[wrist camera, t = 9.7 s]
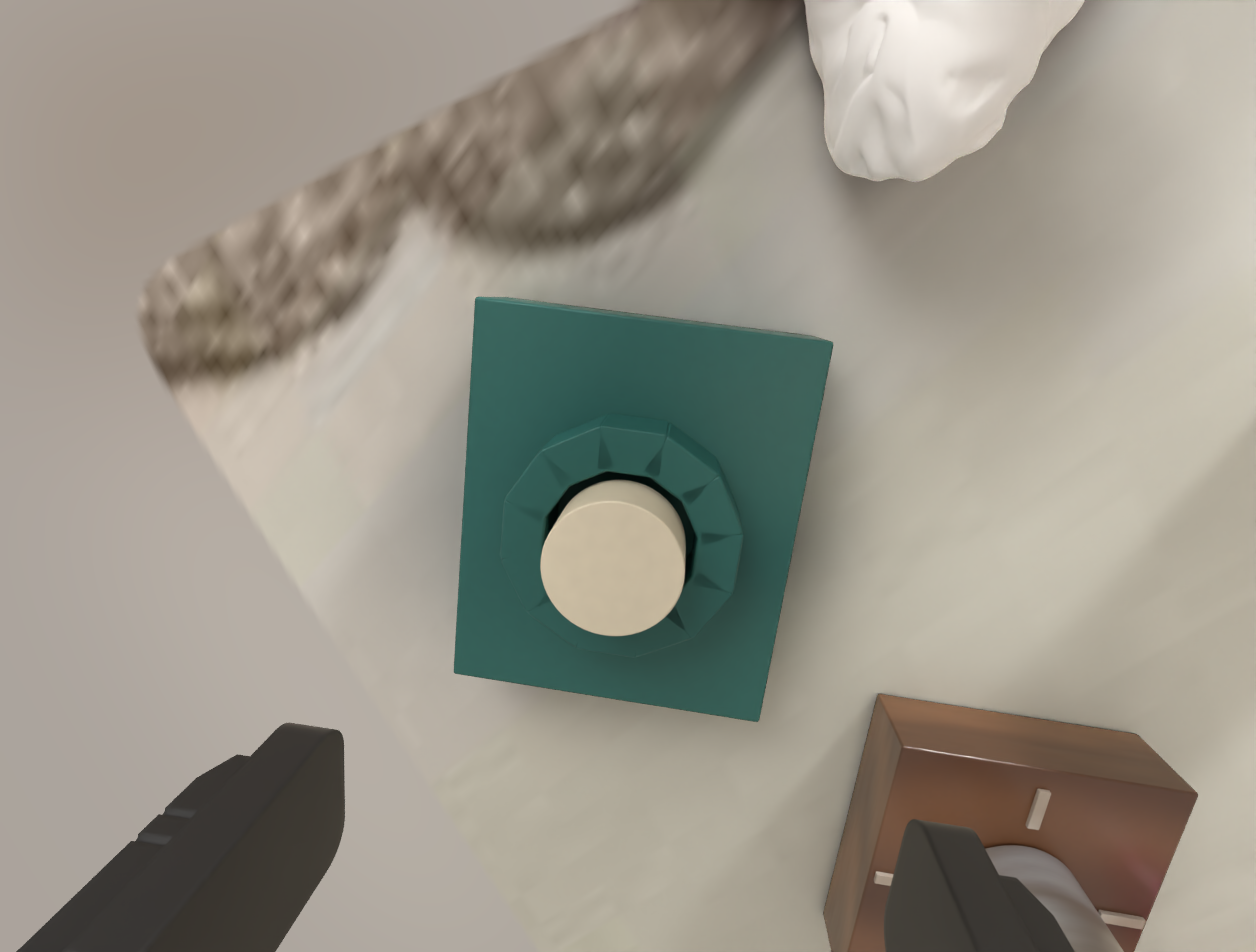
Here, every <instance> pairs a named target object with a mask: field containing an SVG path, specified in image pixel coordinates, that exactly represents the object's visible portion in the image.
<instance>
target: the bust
mask: <svg viewBox="0 0 1256 952" xmlns="http://www.w3.org/2000/svg"><path fill="white" fill-rule="evenodd" d="M1084 1H1085V0H804V3H805V6H806V19H807V27H808V35H809V46H810V53H811V56H812V60H813V63H814V65H815V67H816V70H817V72H818V74H819V76H820V78H821V81H822V84H823V89H824V102H825V109H824V133H825V139H826V144H827V147H828V150H829V152H830V155H831V157H832V159H833V161H834V163H835V164H836V166H837V167H838V168H839V169H840V170H841V171H843V172H844V173H846V174H849V175H852V176H857V177H863V178H867V179H869V180H872V181H883V180H886V179H891V178H901V179H904V180H907V181H911V182H920V181H923V180H925V179H928V178H930V177H932V176H934V175H936V174H937V173H939V172H940V171H941V170H943V169H944V168H945V167H947V166H948V165H949V164H950V163H952V162H953V161H954V160H956V159H957V158H958V157H962V156H966V155H968V154H970V153H973V152H975V151H977V150H979V149H981V148H982V147H984V146H985V145H986V144H987V143H988V142H989V141H990V140H991V139H992V138H993V137H994V136H995V134H996V133H997V132H998V131H999V130H1000V129H1001V128H1002V127H1003V123H1004V120H1005V117H1006V112H1007V107H1008V106H1009V104H1010V103H1011V101H1012V100H1013V99H1014V98H1015V96H1016V95H1017V94H1018V93H1019V92H1020V91H1021V90H1022V89H1023V88H1024V87H1025V86H1027V85H1028V84H1029V83H1030V82H1031V80H1032V78H1033V77H1034V74H1035V72H1036V69H1037V67H1038V64H1039V60H1040V57H1041V54H1042V53H1043V52H1044V50H1045V49H1046V48H1047V46H1048V45H1049V44H1050V42H1051V41H1052V39H1053V38H1054V37H1055V35H1056V34H1057V33H1058V32H1059V31H1060V30H1061V29H1062V28H1063V27H1065V26H1066V25H1067V24H1068V23H1069V22H1070V21H1071V20H1072V19H1073V18H1074V16H1075V15H1076V14H1077V12H1078V11H1079V9H1080V8H1081V6H1082V5H1083V3H1084Z"/></svg>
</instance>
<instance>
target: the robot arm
mask: <svg viewBox="0 0 1256 952" xmlns="http://www.w3.org/2000/svg"><path fill="white" fill-rule="evenodd" d="M344 798H345V796H344V740H343V736H342V734H341V732H340V731H338V730H334V729H328V728H320V727H313V726H307V725H301V724H295V723H285V724H283V725H281V726H280V727H279V728H278V729H277V730H275V731H274V733H272V735H271V736H270V737H269V738H268V739H267V740H266V741H265V742H264V743H263V744H262V745H261V746H260V747H259V748H258V749H257V750H256V751H255V752H254V753H253V754H252V755H251V756H243V755H236V756H234V757H232V758H230V759H229V760H227V761H225V762H223V763H222V764H220V765H218V766H216V767H215V768H213V769H211V770H209V771H208V772H206V773H204V774H202V775H201V776H199V777H197V778H196V779H195V780H194V781H193V782H192V783H191V784H190V785H189V786H188V787H187V788H186V789H185V790H184V791H183V792H182V793H180V795H179V796H177V797H176V798H175V799H174V800H173V801H172V802H171V803H170V804H169V805H168V806H167V807H166V808H165V812H164V813H163V815H158V816H157V817H156V818H155V819H154V820H153V821H151V822H150V823H149V824H148V825H147V826H146V827H145V828H144V829H143V830H142V831H141V832H140V833H139V834H138V838H137V840H136V841H135V842H134V841H131V842H130V843H129V844H128V845H127V846H126V847H125V848H124V849H123V850H121V851H120V852H119V853H118V854H117V855H116V856H115V857H114V858H113V859H112V860H111V861H110V862H109V863H108V864H107V865H106V866H105V867H104V868H103V869H102V870H101V871H100V872H99V873H98V874H97V875H96V876H95V877H94V878H92V880H91V881H89V882H88V883H87V885H85V886H84V887H83V888H82V889H81V890H80V891H79V892H78V893H77V894H76V895H75V896H74V897H73V898H72V899H71V900H70V901H69V902H68V903H67V904H66V905H65V906H63V908H61V909H60V911H58V912H57V913H56V914H55V915H54V916H53V917H52V918H51V919H50V920H49V921H48V922H47V923H46V924H45V925H44V926H43V927H42V928H41V929H40V930H39V931H38V932H37V933H36V934H35V935H34V936H32V937H31V939H29V940H28V941H27V942H26V943H25V944H24V945H23V946H22V947H21V948H20V949H19V950H18V951H17V952H275V951H276V950H277V948H278V947H279V945H280V943H281V942H282V940H283V939H284V937H285V935H286V934H287V933H288V931H289V929H290V928H291V926H292V925H293V923H294V922H295V920H296V918H297V917H298V915H299V914H300V912H301V911H302V909H303V907H304V906H305V904H306V903H307V901H308V900H309V898H310V896H311V895H312V893H313V892H314V890H315V889H316V887H317V886H318V884H319V883H320V881H321V879H322V878H323V876H324V875H325V873H326V871H327V870H328V868H329V867H330V865H331V863H332V861H333V858H334V857H335V854H336V852H337V849H338V847H339V843H340V840H341V837H342V833H343V828H344V819H345V799H344ZM884 941H885V949H886V952H1075V951H1074V949H1073V948H1072V946H1071V944H1070V942H1069V941H1068V939H1067V937H1066V936H1065V934H1064V932H1063V931H1062V929H1061V927H1060V925H1059V924H1058V922H1057V920H1056V919H1055V917H1054V915H1053V914H1052V913H1051V912H1050V911H1049V910H1048V909H1047V908H1046V907H1045V906H1044V905H1043V904H1042V903H1041V902H1040V901H1039V900H1038V899H1037V898H1036V897H1035V896H1034V895H1033V894H1032V893H1031V892H1030V891H1029V890H1028V889H1027V888H1026V887H1025V886H1024V885H1023V884H1022V883H1021V882H1020V881H1019V880H1018V879H1017V878H1015V877H1009V876H1002V875H999V874H998V872H997V870H996V868H995V867H994V865H993V863H992V861H991V859H990V857H989V855H988V853H987V851H986V850H985V848H984V846H983V844H982V842H981V840H980V838H979V837H978V835H977V834H976V833H975V831H974V830H972V829H971V828H968V827H963V826H956V825H950V824H943V823H936V822H930V821H923V820H917V819H912V820H911V821H909V823H908V824H907V826H906V828H905V831H904V835H903V839H902V843H901V847H900V851H899V855H898V859H897V863H896V866H895V870H894V874H893V878H892V882H891V886H890V890H889V894H888V898H887V902H886V906H885V913H884Z"/></svg>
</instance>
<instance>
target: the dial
mask: <svg viewBox="0 0 1256 952" xmlns="http://www.w3.org/2000/svg"><path fill="white" fill-rule="evenodd" d="M985 850H986V851H987V853H988V855H989V857H990V859H991V861H992V863H993V865H994V867H995V868H996V870H997V872H998V874H999V875H1002V876H1009V877H1015V878H1017V879H1018V880H1019V881H1020V882H1021V883H1022V884H1023V885H1024V886H1025V887H1026V888H1027V889H1028V890H1029V891H1030V892H1031V893H1032V894H1033V895H1034V896H1035V897H1036V898H1037V899H1038V900H1039V901H1040V902H1041V903H1042V904H1043V905H1044V906H1045V907H1046V908H1047V909H1048V910H1049V911H1050V912H1051V913H1052V914H1053V915H1054V917H1055V919H1056V920H1057V922H1058V924H1059V925H1060V927H1061V929H1062V931H1063V932H1064V934H1065V936H1066V937H1067V939H1068V941H1069V942H1070V944H1071V946H1072V948H1073V949H1074V951H1075V952H1124V951H1123V949H1122V948H1121V946H1120V945H1119V943H1118V942H1117V940H1116V939H1115V937H1114V936H1113V934H1112V933H1111V931H1110V930H1109V928H1108V927H1107V925H1106V924H1105V922H1104V921H1103V919H1102V918H1101V916H1100V915H1099V913H1098V912H1097V910H1096V909H1095V907H1094V906H1093V904H1092V903H1091V901H1090V900H1089V898H1088V897H1087V895H1086V894H1085V892H1084V891H1083V889H1082V887H1081V886H1080V884H1079V883H1078V881H1077V880H1076V878H1075V877H1074V875H1073V874H1072V873H1071V871H1070V870H1069V869H1068V868H1067V867H1066V866H1065V865H1064V864H1063V863H1062V862H1061V861H1059V860H1058V859H1057V858H1055V857H1053V856H1052V855H1050V854H1048V853H1046V852H1044V851H1041V850H1038V849H1035V848H1032V847H1026V846H1019V845H1003V846H995V847H991V848H986V849H985Z"/></svg>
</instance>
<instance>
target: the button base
mask: <svg viewBox="0 0 1256 952" xmlns="http://www.w3.org/2000/svg"><path fill="white" fill-rule="evenodd" d="M832 349H833V342H831V341H828V340H824V339H821V338H818V337H814V336H809V335H801V334H793V333H785V332H777V331H769V330H761V329H753V328H745V327H738V326H730V325H722V324H714V323H706V322H698V321H690V320H682V319H674V318H666V317H658V316H650V315H642V314H634V313H627V312H619V311H611V310H603V309H595V308H587V307H579V306H571V305H563V304H555V303H547V302H539V301H531V300H524V299H516V298H508V297H476V299H475V312H474V329H473V346H472V363H471V381H470V398H469V415H468V433H467V450H466V467H465V485H464V502H463V519H462V537H461V554H460V571H459V589H458V606H457V623H456V641H455V658H454V673H455V674H461V675H467V676H474V677H480V678H486V679H492V680H499V681H505V682H511V683H517V684H524V685H530V686H536V687H542V688H548V689H555V690H561V691H567V692H573V693H580V694H586V695H592V696H598V697H605V698H611V699H617V700H623V701H629V702H636V703H642V704H648V705H654V706H661V707H667V708H673V709H679V710H686V711H692V712H698V713H704V714H710V715H717V716H723V717H729V718H735V719H742V720H748V721H754V722H758V721H759V718H760V713H761V708H762V703H763V698H764V693H765V688H766V683H767V678H768V673H769V668H770V663H771V658H772V653H773V648H774V643H775V638H776V632H777V627H778V622H779V617H780V612H781V607H782V602H783V597H784V592H785V587H786V582H787V577H788V572H789V567H790V562H791V557H792V551H793V546H794V541H795V536H796V531H797V526H798V521H799V516H800V511H801V506H802V501H803V496H804V491H805V486H806V481H807V476H808V471H809V465H810V460H811V455H812V450H813V445H814V440H815V435H816V430H817V425H818V420H819V415H820V410H821V405H822V400H823V395H824V390H825V385H826V379H827V374H828V369H829V364H830V359H831V354H832ZM608 480H629V481H634V482H638V483H641V484H644V485H646V486H648V487H650V488H652V489H654V490H656V491H657V492H659V493H660V494H661V495H662V496H664V497H665V498H666V499H667V500H668V501H669V502H670V503H671V505H672V506H673V507H674V509H675V510H676V512H677V513H678V515H679V517H680V519H681V521H682V524H683V527H684V532H685V539H686V556H685V579H684V584H683V589H682V592H681V594H680V597H679V599H678V601H677V603H676V604H675V606H674V607H673V609H672V610H671V611H670V613H669V614H668V615H667V616H666V617H665V618H664V619H662V620H661V621H660V622H658V623H657V624H656V625H654V626H652V627H650V628H649V629H646V630H644V631H642V632H639V633H635V634H632V635H625V636H606V635H600V634H595V633H592V632H589V631H587V630H584V629H582V628H580V627H578V626H577V625H575V624H573V623H572V622H570V621H569V620H568V619H567V618H565V617H564V616H563V615H562V614H561V613H560V612H559V611H558V610H557V609H556V607H555V606H554V604H553V603H552V602H551V600H550V598H549V596H548V595H547V592H546V590H545V588H544V585H543V581H542V577H541V568H540V567H541V554H542V549H543V546H544V543H545V541H546V539H547V536H548V534H549V533H550V531H551V529H552V528H553V526H554V525H555V523H556V521H557V520H558V518H559V516H560V515H561V513H562V512H563V510H564V508H565V507H566V505H567V504H568V503H569V502H570V500H571V499H572V498H573V497H574V496H575V495H577V494H578V493H579V492H580V491H582V490H584V489H585V488H587V487H589V486H591V485H593V484H596V483H599V482H602V481H608Z"/></svg>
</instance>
